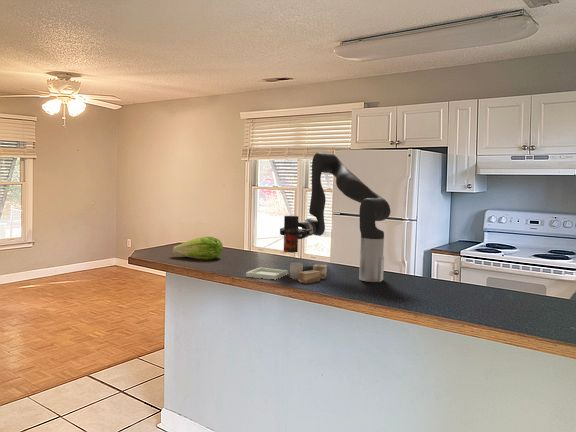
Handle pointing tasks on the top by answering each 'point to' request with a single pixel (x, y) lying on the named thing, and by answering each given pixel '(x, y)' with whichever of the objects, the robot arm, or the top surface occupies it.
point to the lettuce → (200, 248)
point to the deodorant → (290, 234)
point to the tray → (267, 273)
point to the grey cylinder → (295, 270)
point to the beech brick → (309, 276)
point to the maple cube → (321, 270)
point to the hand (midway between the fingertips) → (289, 233)
